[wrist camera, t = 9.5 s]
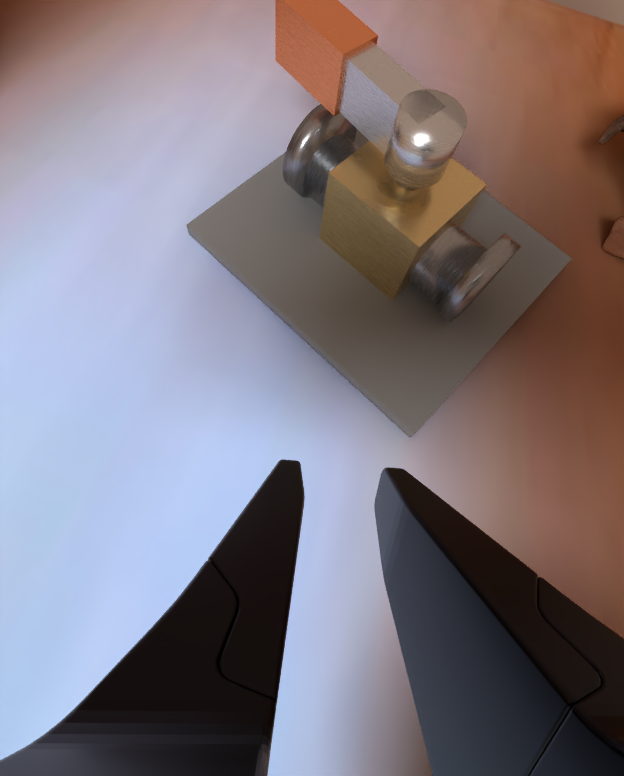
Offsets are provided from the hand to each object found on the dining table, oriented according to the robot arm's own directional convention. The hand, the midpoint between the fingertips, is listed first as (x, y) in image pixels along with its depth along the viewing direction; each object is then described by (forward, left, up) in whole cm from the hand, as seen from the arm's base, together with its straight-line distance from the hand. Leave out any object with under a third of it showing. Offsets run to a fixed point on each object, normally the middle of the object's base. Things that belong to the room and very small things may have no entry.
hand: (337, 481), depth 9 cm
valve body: (+8, -13, -13) cm, 20 cm away
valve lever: (+12, -13, -6) cm, 19 cm away
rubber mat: (+8, -13, -13) cm, 20 cm away
